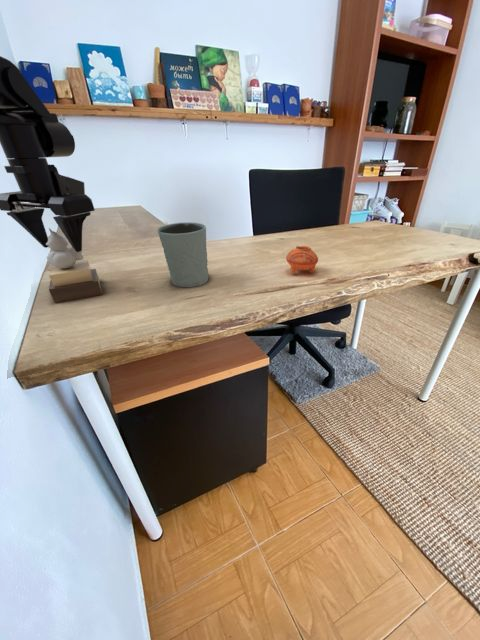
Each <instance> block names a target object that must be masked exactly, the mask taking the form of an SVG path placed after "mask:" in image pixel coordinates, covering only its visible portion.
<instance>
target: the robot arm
mask: <svg viewBox="0 0 480 640" xmlns="http://www.w3.org/2000/svg"><path fill="white" fill-rule="evenodd" d="M0 146H1V148H2V151H3V153H4V155H5V158H6V161H7V162H8V165H4V169H5V171H6V173H7V174H13V176H14V179H15V181H16V184H17V186H18V188H19V190H18V191H9V192H2V193H0V211H3V212H6V215H7V216H8V217H9V216H10V217H11V218H12V219H13V220H14V221H15V222H16V223H18V224H19V225H20V226H21V227H22V228H23V229H24V230H25V231H26V232H28V233H29V235H30V236H31V237H33V238H34V239H35V240H36V241H37V242H38V243H39V244H40V245H41V246H42V247H43V248H45V249H47V248H49V246H47V245H46V243H47V242H48V234H47V231H46V228H45V224H44V222H43V215H44V212H45V209H50V211H51V212H52V213H53V214H54V215H55V216H53V218H52V219H53V220H54V221H55V223H56V224H57V226H58V227H59V230H61V232H62V233H63V235H64V236H65V237H64V238H65V239H66V241H67V242H68V244H70V246H71V248H72V247H73V248H74V250H75V251H76V252H80V251H82V252H83V225H84V222H85V220H86V219H87V217H89V216H91V214H92V212H95V211H96V209H95V205H94V203H93V200H92V198H91V197H90V196H88V195H87V194H86V192H85V191H86V190H85V182H84V181H81V180H79V179H75V178H72V177H70V176H66V175H62V174H60V173H59V170H58V168H57V166H55V164H49V162H48V160H47V158H65V157H66V158H67V157H70V156H72V155H73V154H74V153H75V150H76V141H75V137H74V135H73V134H72V133H71V131H70V129H69V128H68V127H67V126H66V125H65V124H64V123H62V122H60V121H59V117H58V115H57V114H56V113H53V112H50V111H49V109H48V108H47V107H46V105H45V104H44V102H43V101H42V100H41V98H40V97H39V96H38V94H37V92H36V91H35V90H34V89H33V88H32V86H31V84H30V83H29V82H28V80H27V79H26V77H25V76H24V75H23V74H22V73H21V70H20V69H19V68H18V67H17V65H16V64H14V63H13V62H12V61H11V60H9V59H7V58H5V57H3V56H1V55H0Z"/></svg>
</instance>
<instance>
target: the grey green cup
mask: <svg viewBox="0 0 480 640" xmlns="http://www.w3.org/2000/svg"><path fill="white" fill-rule="evenodd" d="M157 234H158V237H159V240H160V244H161V246H162V248H163V254H164V258H165V261H166V264H167V268H168V271H169V276H170V278H171V282H172V284H173V285H174V286H176V287H179V288H195V287H199V286H202V285H204V284H206V283H207V282H209V268H208V262H209V261H208V251H207V250H208V248H207V226H206V225H205V224H203V223H200V222H188V221H187V222H175V223H169V224H165V225H162V226H160V227H158V229H157Z"/></svg>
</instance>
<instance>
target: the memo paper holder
mask: <svg viewBox="0 0 480 640" xmlns="http://www.w3.org/2000/svg"><path fill="white" fill-rule="evenodd" d="M48 277H49V287H48V292H49V294H50V296H51V298H52V300H53V302H54V304H57V303H63V302H69V301H74V300H79V299H83V298H91V297H95V296H100V295H103V290H102V286H101V280H100V277H99V274H98V271H97V269H96V268H92V267H91V265H90V263H89V259H84V260H83V259H82V260H78V261H76V263H75V264H74V265H73V266H72V267H70V268H64V269H61V268H57V267H55V266H53V265H51V264H50V268H49V272H48Z"/></svg>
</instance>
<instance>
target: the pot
mask: <svg viewBox="0 0 480 640" xmlns="http://www.w3.org/2000/svg"><path fill="white" fill-rule="evenodd" d="M285 259H286V262H287V263H288V264H289V266H290V271H291V274H292V275H295V274H296V271H297V270H298V271H307V270H310V273H314V271H315V269H316V266H317V264H318V262H319V257H318V255H317V253H316V252H315V251H314V250H313V249H312V248H311V246H308V245H301V246H298V245H297V246H295V248H293V249H292V250H290V251H289V252H288V253H287V254H286V256H285Z"/></svg>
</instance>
